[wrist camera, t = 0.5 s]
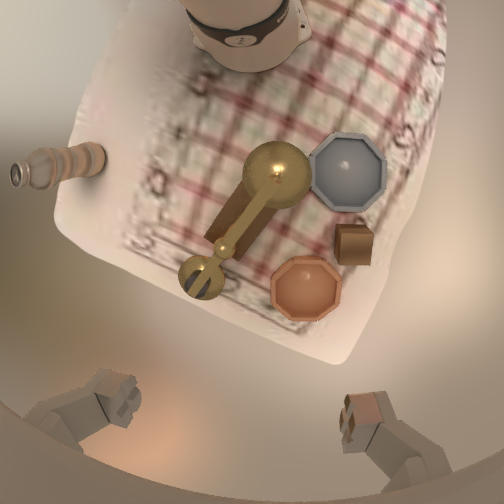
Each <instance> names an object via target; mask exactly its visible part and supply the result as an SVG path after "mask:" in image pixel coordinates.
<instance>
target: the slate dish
mask: <svg viewBox="0 0 504 504" xmlns="http://www.w3.org/2000/svg"><path fill="white" fill-rule="evenodd" d="M310 154H311V155H312V156H311V155H309V163H310V166H311V170H312V181H311V185H310V186H311V187H310V188H311V189H312V190H313V191H314V192H315V193H316V194H317V195H318V196H319V197H320V199H321V200H322V201H323V202H324V203H325V204H326V205H327V206H328V207H329V208H330V209H331V210H333V211H342V212H363V211H365V210H367V209H368V208H369V207H370V206H371V205H372V204H373V203H374V202H375V201H376V200H377V199H378V198H379V197H380V196H381V195H382V194H383V193H384V192H385V191H384V190H386V179H387V160H385V159H386V157H385V156H384V155H383V154H382V152H381V151H380V150H379V149H378V148H377V146H376V145H375V144H374V143H373V142H372V141H371V140H370V138H369V137H368V136H367V135H364V134H358V133H344V132H333V133H331V134H330V135H329V136H328V137H327V138H326V139H324V140H323V141H322V142H321V143H320V144H319V145H318V146H317V147H316V148H315V149H314V150H313V151H312V152H311V153H310Z"/></svg>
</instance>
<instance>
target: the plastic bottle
mask: <svg viewBox="0 0 504 504" xmlns="http://www.w3.org/2000/svg"><path fill="white" fill-rule="evenodd" d="M104 162H105V154H104V151H103V149H102V148H101V146H100V145H99V144H97V143H94V142H85V143H82V144H79V145H77V146H73V147H69V148H39V149H37V150H35V151H34V152H32V154H31V155H30V156H29V157H28V158H27V160H20V161H18V162H14V163H13V164H12V165H11V167H10V181H11V184H12V186H13V187H14V188H20V187H26V186H27V185H29V186H30V187H32V188H34V189H36V190H46V189H48V188H50V187H52V186H54V185H56V184H58V183H60V182H62V181H65V180H67V179H70V178H77V177H92V176H94V175H96V174H97V173H99V172H100V171H101V169H102V168H103V165H104Z"/></svg>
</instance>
